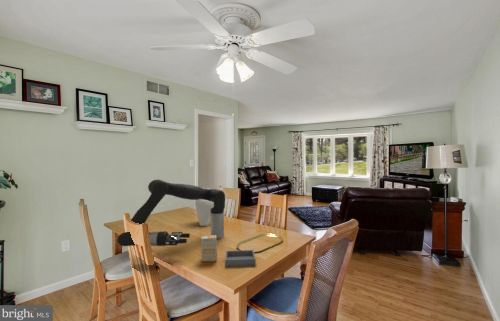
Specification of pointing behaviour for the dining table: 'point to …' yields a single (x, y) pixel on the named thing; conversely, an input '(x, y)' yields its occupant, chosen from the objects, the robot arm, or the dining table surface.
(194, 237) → the dining table surface
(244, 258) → the organiser tray
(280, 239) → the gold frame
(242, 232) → the dining table surface
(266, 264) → the dining table surface
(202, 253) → the supplement box
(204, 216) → the vase
